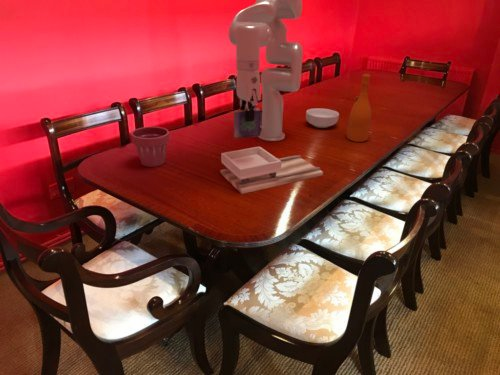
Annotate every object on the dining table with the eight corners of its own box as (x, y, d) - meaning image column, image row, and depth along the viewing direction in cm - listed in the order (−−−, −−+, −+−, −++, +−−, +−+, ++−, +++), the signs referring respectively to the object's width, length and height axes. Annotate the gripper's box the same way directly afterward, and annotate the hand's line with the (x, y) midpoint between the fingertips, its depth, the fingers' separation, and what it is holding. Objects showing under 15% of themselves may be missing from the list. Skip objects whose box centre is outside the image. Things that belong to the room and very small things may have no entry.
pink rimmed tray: (221, 168, 143) (221, 153, 140) (259, 161, 149) (259, 146, 147) (240, 185, 130) (240, 169, 127) (280, 177, 137) (281, 161, 134)
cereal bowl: (337, 132, 190) (339, 118, 186) (303, 129, 193) (304, 115, 189) (337, 122, 205) (339, 108, 201) (306, 119, 207) (307, 106, 204)
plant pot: (178, 160, 156) (176, 130, 150) (154, 172, 145) (150, 140, 139) (152, 153, 162) (149, 124, 156) (127, 164, 151) (122, 133, 146)
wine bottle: (364, 135, 185) (374, 71, 172) (370, 142, 177) (381, 76, 163) (344, 135, 185) (352, 71, 171) (349, 142, 176) (358, 76, 163)
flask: (235, 139, 134) (235, 106, 129) (232, 136, 137) (232, 104, 132) (261, 136, 138) (262, 104, 133) (257, 133, 140) (258, 102, 135)
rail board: (220, 173, 145) (220, 168, 144) (296, 158, 159) (296, 153, 158) (241, 193, 131) (241, 187, 130) (322, 175, 145) (323, 169, 144)
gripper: (269, 68, 121) (267, 124, 129) (247, 61, 134) (246, 112, 143) (248, 70, 118) (247, 127, 126) (227, 62, 131) (228, 114, 140)
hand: (247, 119), depth 134 cm, fingers closed on flask, 3 cm apart
